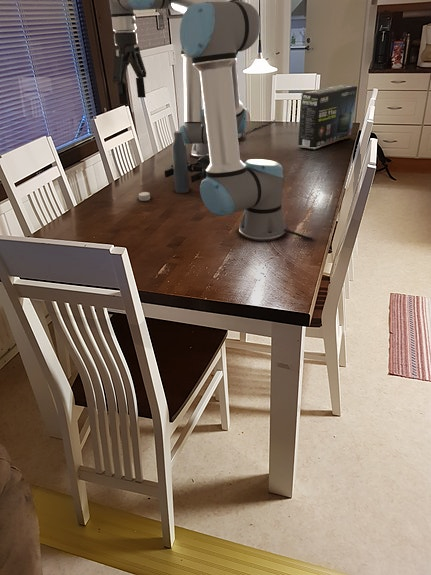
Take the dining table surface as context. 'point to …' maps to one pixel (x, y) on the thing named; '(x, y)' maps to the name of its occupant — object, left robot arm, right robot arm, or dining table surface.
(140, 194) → the cap
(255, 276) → the dining table surface
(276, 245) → the dining table surface
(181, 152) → the bottle
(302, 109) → the router box
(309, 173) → the dining table surface
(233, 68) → the left robot arm
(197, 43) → the right robot arm
